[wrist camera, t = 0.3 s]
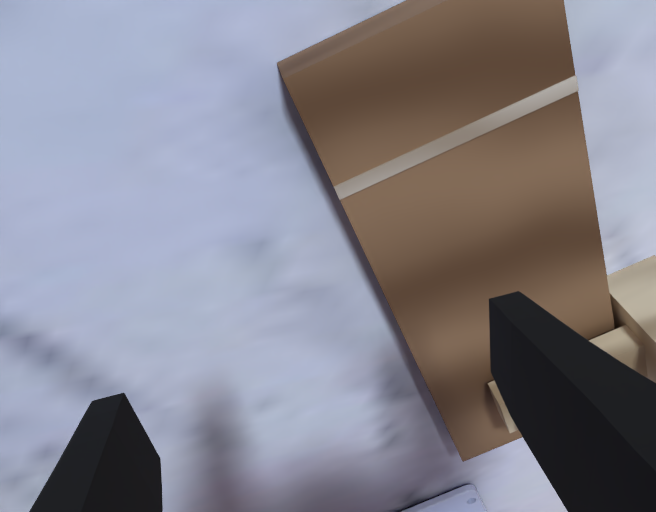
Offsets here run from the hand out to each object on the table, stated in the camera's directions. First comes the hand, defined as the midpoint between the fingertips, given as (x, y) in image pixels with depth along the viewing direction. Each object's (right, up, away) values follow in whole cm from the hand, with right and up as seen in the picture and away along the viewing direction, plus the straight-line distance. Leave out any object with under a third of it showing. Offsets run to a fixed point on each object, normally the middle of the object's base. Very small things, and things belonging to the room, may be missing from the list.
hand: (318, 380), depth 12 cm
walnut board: (+6, +3, +11) cm, 13 cm away
